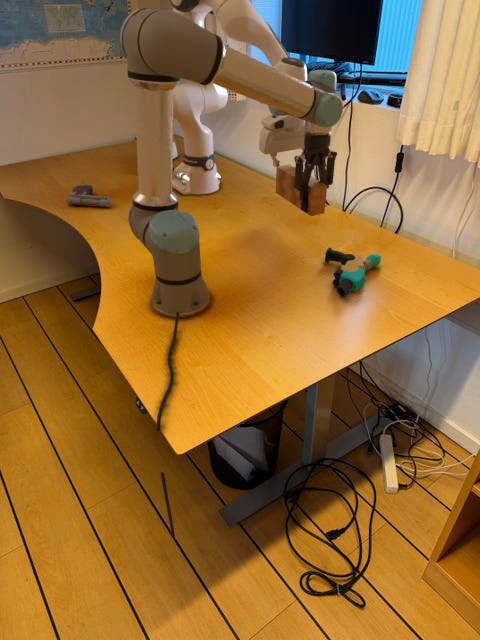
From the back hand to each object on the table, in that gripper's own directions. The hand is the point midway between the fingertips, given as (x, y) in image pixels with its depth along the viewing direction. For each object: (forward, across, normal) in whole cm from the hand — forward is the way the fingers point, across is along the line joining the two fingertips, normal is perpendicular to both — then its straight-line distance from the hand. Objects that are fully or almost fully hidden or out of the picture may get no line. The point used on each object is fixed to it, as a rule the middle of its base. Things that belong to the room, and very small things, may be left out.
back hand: (288, 163), depth 154 cm
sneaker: (+19, +21, -81) cm, 86 cm away
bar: (+10, 0, +7) cm, 13 cm away
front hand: (+10, 0, +15) cm, 18 cm away
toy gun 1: (+20, +56, -50) cm, 78 cm away
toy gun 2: (+21, +4, +40) cm, 45 cm away
